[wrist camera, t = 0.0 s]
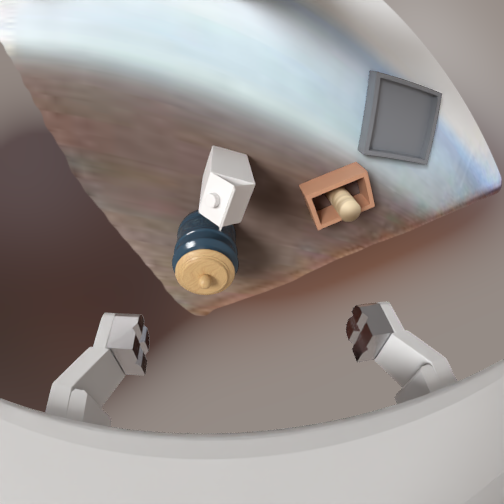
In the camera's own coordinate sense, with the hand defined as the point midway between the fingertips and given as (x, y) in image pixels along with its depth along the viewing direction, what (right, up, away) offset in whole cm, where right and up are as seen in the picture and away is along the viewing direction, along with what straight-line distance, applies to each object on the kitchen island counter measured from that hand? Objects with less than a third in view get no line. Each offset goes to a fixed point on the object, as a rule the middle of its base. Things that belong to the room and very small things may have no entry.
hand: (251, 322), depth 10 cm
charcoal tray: (+32, +32, +40) cm, 61 cm away
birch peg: (+18, +16, +50) cm, 56 cm away
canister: (-10, +7, +54) cm, 56 cm away
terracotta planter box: (+18, +16, +50) cm, 56 cm away
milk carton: (-6, +20, +45) cm, 50 cm away
